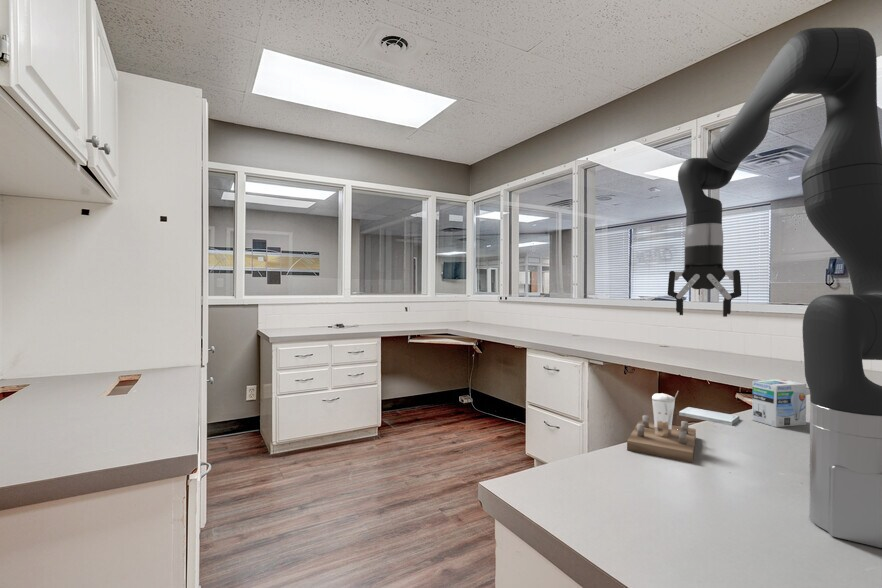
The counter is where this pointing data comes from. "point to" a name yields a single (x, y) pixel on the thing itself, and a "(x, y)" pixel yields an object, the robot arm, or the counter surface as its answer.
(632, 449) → the peg plinth
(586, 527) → the counter surface
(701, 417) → the hard drive
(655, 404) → the milkshake
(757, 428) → the counter surface
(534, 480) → the counter surface
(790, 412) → the light bulb box
